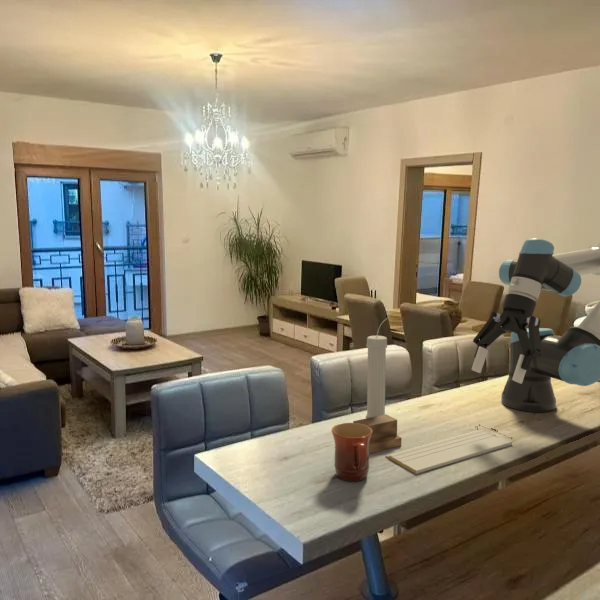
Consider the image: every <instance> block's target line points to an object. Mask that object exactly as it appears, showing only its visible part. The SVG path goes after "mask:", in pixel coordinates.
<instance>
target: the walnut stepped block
mask: <svg viewBox="0 0 600 600" xmlns="http://www.w3.org/2000/svg"><path fill="white" fill-rule="evenodd" d="M352 423H359V424H364V425H367V426H369V427H370V428H371V429H372V431H373V432H372V436H371V439H370V442H369V454H372V453H376V452H380V451H385V450H389V449H393V448H398V447H402V437H401V436H399V435H398V419H397V418H394V417H392V416H390V415H389V414H386V413H385V415H381V416H376V417H371V418H366V417H365V418H362V419H358V420H353V421H352Z"/></svg>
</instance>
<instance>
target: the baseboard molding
mask: <svg viewBox="0 0 600 600" xmlns="http://www.w3.org/2000/svg"><path fill="white" fill-rule="evenodd" d="M474 427H475V430H473V431H470V432H465V433H462V434H458V435H454V436H451V437H447V438H443V439H440V440H436V441H433V442H429V443H426V444H422V445H419V446H414V447H412V448H407V449H403V450H399V451H397V452H392V453H389V454H386V455H385V456H384V457H385V458H387V459H389V460H390V461H392V462H394V463H396V464H397V465H399V466H401V467H403V468H405V469H407V470H408V471H410V472H412V473H413V474H415V475H417V474H421V473H425V472H427V471H431V470H434V469H436V468H441V467H444V466H447V465H450V464H454V463H457V462H461V461H463V460H467V459H470V458H473V457H476V456H477V457H478V456H479V455H483V454H486V453H490V452H493V451H495V450H499V449H500V450H501V449H503V448H505V447H509V446H512V445H513V441H512V440H513V437H509V436H508V438H510V440H509V439H508V438H504V437H506V435H504V434H503V437H502V436H499V435H501V433H500V432H499V430H497V429H496V428H493V427H491V428H490V430H491V431H493V432H495V433H496V434H494V433H491V432H490V431H487V430H486V429H488V430H489V428H488V427H486V429H481V430H480V429H479V427H483V428H484V426H482V425H481V424H480V423H479V424H478V425H477V426H474ZM497 433H498V434H499V435H497Z"/></svg>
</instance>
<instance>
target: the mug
mask: <svg viewBox="0 0 600 600" xmlns="http://www.w3.org/2000/svg"><path fill="white" fill-rule="evenodd" d="M372 432H373V431H372V429H371V428H370V427H369V426H367V425H364V424H359V423H353V422H343V423H338V424H336V425H334V426H332V428H331V433H332V436H333V440H334V463H333V465H334V469H335V474H336V476H337V477H338V478H340V479H341V480H344V481H347V482H359V481H363V479H365V478H366V477H368V474H369V469H370V453H369V442H370V439H371V436H372Z"/></svg>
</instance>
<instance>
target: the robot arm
mask: <svg viewBox="0 0 600 600" xmlns="http://www.w3.org/2000/svg"><path fill="white" fill-rule="evenodd" d="M554 251H555V246H554V244H553V243H552V242H550V241H548V240H546V239H541V238H538V237H537V238H536V237H534V238H533V237H531V238H527V239H525V241H524V242H523V244H522V247H521V249H520V252H519V253H518V257H517V259H516V258H514V259H506V260H504V261H503V262H502V263H501V264H500V266H499V269H498V277H499V279H500V282H501V283H502V284H504V285H507V286H508V288H507V294H506V295H505V296H504V300H503V302H502V309H503V310H502V312H501V313H498V312H496V311H492V312H491V314H490V316H489V319H488V320H487V321H486V323H485V324H484V325H483V326H482V328H481V329H480V330H479V332H478V333H477V334H476V336H475V337H474V338H473V340H472V342H473V343H474V344H475V345H477V348H476V350H475V354H474V359H473V364H472V367H471V371H472V372H473V371H474V372H476V373H478V374H481V373H482V369H483V367H484V364H485V361H486V358H487V355H488V351H489V349H488V347H489V346H491V345H492V344H493V343H494V342H495V341H496V340H497V339H499V338H500V337H501V336H502V335H504V334H506V333H510V340H509V351H508V352H509V359H508V376H507V377H508V378H507V381H506V383H505V385H504V388H503V391H502V392H501V403H502V404H503V405H504V406H506V407H509V408H510V409H512V410H513V409H514V410H518V411H523V412H530V413H532V412H533V413H546V412H551V411H554V410H555V409H556V407H557V398H556V397H555V392H554V388H553V385H552V379H556V380H559V381H562V382H565V383H567V384H569V385H576V386H580V387H588V386H591V385H593V384H595V383H596V382H598V381H600V300H599V301H598V302H597V304H596V305H594V307H593V308H592V309H591V311H590V312H589V313H587V315H586V317H584V319H583V320H581V323H579V325H578V326H571V327H568V329H567V330H566V331H565V332H564V333H563V334H562V335H561V336H555V332H554V330H553V329H552V328H545V327H540V325H541V319H540V318H538V317H536V316H534V313H535V309H536V306H537V301H538V300H539V297H540V294H541V290H543V291H544V290H545V291H551V292H553V293H554V294H556V295H560V296H561V297H569V296H572V295H574V294H575V293H577V292H578V290H580V287H581V284H582V277H581V276H585V275H590V274H591V275H595V276H600V243H596V244H592V245H589V246H588V247H587V248H585V249H580V250H573V251H569V252H561V253H555V252H554ZM527 327H528V328H527Z"/></svg>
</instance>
